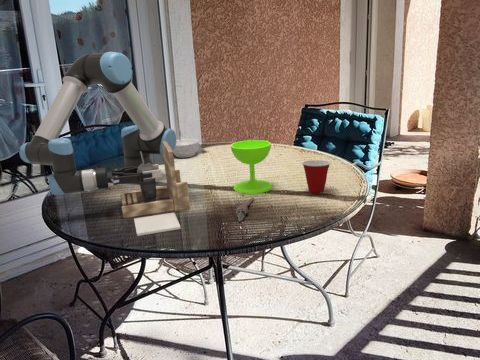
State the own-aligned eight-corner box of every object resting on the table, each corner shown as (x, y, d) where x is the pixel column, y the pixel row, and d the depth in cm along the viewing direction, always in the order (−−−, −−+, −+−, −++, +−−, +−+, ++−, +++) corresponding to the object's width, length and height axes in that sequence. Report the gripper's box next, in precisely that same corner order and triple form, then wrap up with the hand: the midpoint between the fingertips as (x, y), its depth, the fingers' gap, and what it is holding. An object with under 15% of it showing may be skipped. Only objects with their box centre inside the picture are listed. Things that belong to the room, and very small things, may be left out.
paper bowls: (198, 158, 239) (196, 143, 237) (169, 160, 240) (167, 145, 238) (200, 151, 254) (199, 137, 252) (173, 153, 254) (172, 139, 252)
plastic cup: (332, 187, 180) (332, 158, 177) (328, 196, 170) (328, 165, 167) (305, 186, 184) (304, 157, 180) (299, 195, 174) (299, 164, 171)
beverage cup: (155, 206, 168) (149, 153, 162) (137, 206, 169) (130, 153, 164) (162, 199, 175) (156, 148, 169) (145, 199, 176) (138, 149, 170)
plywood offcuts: (124, 215, 164) (122, 203, 163) (122, 205, 176) (121, 193, 174) (138, 213, 166) (137, 201, 164) (136, 202, 177) (135, 191, 176)
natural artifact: (236, 226, 152) (228, 217, 152) (252, 201, 172) (245, 192, 172) (244, 221, 150) (237, 211, 150) (260, 196, 171) (253, 187, 170)
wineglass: (260, 196, 176) (258, 150, 171) (225, 191, 184) (222, 147, 179) (279, 184, 189) (278, 141, 183) (246, 180, 197) (244, 139, 192)
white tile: (137, 236, 146) (136, 233, 146) (134, 220, 159) (133, 218, 158) (180, 228, 149) (180, 226, 149) (174, 214, 162) (174, 212, 162)
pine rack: (123, 219, 161) (114, 158, 154) (121, 201, 179) (113, 147, 173) (190, 209, 167) (184, 150, 160) (181, 193, 185) (175, 139, 179)
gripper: (97, 181, 174) (158, 173, 180) (97, 197, 156) (164, 187, 162) (94, 162, 172) (155, 154, 178) (93, 176, 154) (162, 167, 159)
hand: (159, 170), depth 170 cm, fingers closed on beverage cup, 7 cm apart
